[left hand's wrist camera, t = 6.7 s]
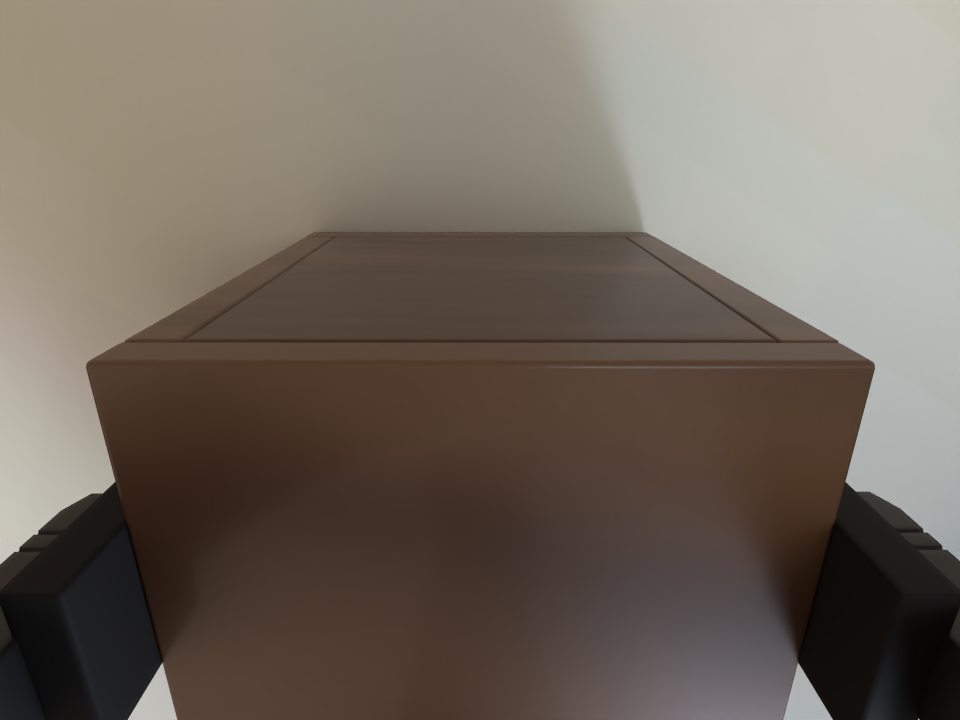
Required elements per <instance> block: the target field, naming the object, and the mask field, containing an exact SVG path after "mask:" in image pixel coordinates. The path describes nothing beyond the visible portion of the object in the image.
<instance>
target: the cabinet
mask: <svg viewBox="0 0 960 720" xmlns="http://www.w3.org/2000/svg"><path fill="white" fill-rule="evenodd" d="M86 369H87V373H88V377H89V381H90V384H91V388H92V392H93V396H94V400H95V404H96V408H97V411H98V415H99V419H100V423H101V427H102V431H103V435H104V438H105V442H106V446H107V450H108V454H109V458H110V462H111V465H112V469H113V473H114V477H115V481H116V485H117V488H118V492H119V496H120V500H121V504H122V508H123V512H124V515H125V519H126V523H127V527H128V531H129V535H130V539H131V542H132V546H133V550H134V554H135V558H136V562H137V566H138V569H139V573H140V577H141V581H142V585H143V589H144V593H145V596H146V600H147V604H148V608H149V612H150V616H151V620H152V623H153V627H154V631H155V635H156V639H157V643H158V646H159V650H160V654H161V658H162V662H163V666H164V670H165V673H166V677H167V681H168V685H169V689H170V693H171V697H172V700H173V704H174V708H175V712H176V716H177V720H783V718H784V714H785V710H786V706H787V703H788V699H789V695H790V691H791V687H792V683H793V680H794V676H795V672H796V668H797V664H798V660H799V657H800V653H801V649H802V645H803V641H804V638H805V634H806V630H807V626H808V622H809V618H810V615H811V611H812V607H813V603H814V599H815V595H816V592H817V588H818V584H819V580H820V576H821V573H822V569H823V565H824V561H825V557H826V553H827V550H828V546H829V542H830V538H831V534H832V530H833V527H834V523H835V519H836V515H837V511H838V507H839V504H840V500H841V496H842V492H843V488H844V485H845V481H846V477H847V473H848V469H849V465H850V462H851V458H852V454H853V450H854V446H855V442H856V439H857V435H858V431H859V427H860V423H861V419H862V416H863V412H864V408H865V404H866V400H867V397H868V393H869V389H870V385H871V381H872V377H873V374H874V370H875V365H874V363H873V362H872V361H871V360H869V359H867V358H865V357H863V356H862V355H860V354H858V353H856V352H855V351H853V350H851V349H849V348H848V347H846V346H844V345H842V344H840V343H839V342H838V340H836V339H834V338H832V337H830V336H829V335H827V334H825V333H823V332H822V331H820V330H818V329H816V328H815V327H813V326H811V325H809V324H808V323H806V322H804V321H802V320H800V319H799V318H797V317H795V316H793V315H792V314H790V313H788V312H786V311H785V310H783V309H781V308H779V307H777V306H776V305H774V304H772V303H770V302H769V301H767V300H765V299H763V298H762V297H760V296H758V295H756V294H754V293H753V292H751V291H749V290H747V289H746V288H744V287H742V286H740V285H739V284H737V283H735V282H733V281H731V280H730V279H728V278H726V277H724V276H723V275H721V274H719V273H717V272H716V271H714V270H712V269H710V268H709V267H707V266H705V265H703V264H701V263H700V262H698V261H696V260H694V259H693V258H691V257H689V256H687V255H686V254H684V253H682V252H680V251H678V250H677V249H675V248H673V247H671V246H670V245H668V244H666V243H664V242H663V241H661V240H659V239H657V238H655V237H653V236H651V235H649V234H648V233H342V232H315V233H313V234H311V235H309V236H307V237H306V238H304V239H302V240H301V241H299V242H297V243H295V244H294V245H292V246H290V247H288V248H287V249H285V250H283V251H281V252H279V253H278V254H276V255H274V256H272V257H271V258H269V259H267V260H265V261H264V262H262V263H260V264H258V265H257V266H255V267H253V268H251V269H250V270H248V271H246V272H244V273H243V274H241V275H239V276H237V277H236V278H234V279H232V280H230V281H229V282H227V283H225V284H223V285H222V286H220V287H218V288H216V289H215V290H213V291H211V292H209V293H207V294H206V295H204V296H202V297H200V298H199V299H197V300H195V301H193V302H192V303H190V304H188V305H186V306H185V307H183V308H181V309H179V310H178V311H176V312H174V313H172V314H171V315H169V316H167V317H165V318H164V319H162V320H160V321H158V322H157V323H155V324H153V325H151V326H150V327H148V328H146V329H144V330H143V331H141V332H139V333H137V334H135V335H134V336H132V337H130V338H128V339H127V340H125V342H124V343H120V344H118V345H116V346H114V347H113V348H111V349H109V350H107V351H106V352H104V353H102V354H100V355H99V356H97V357H95V358H93V359H92V360H90V361H88V362H87V365H86Z"/></svg>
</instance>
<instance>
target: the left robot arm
mask: <svg viewBox="0 0 960 720" xmlns="http://www.w3.org/2000/svg"><path fill="white" fill-rule="evenodd" d="M38 532H39V533H38V535H33V536H32V537H31V538H30V539H29V540H28V541H26V542H25V543H24V544H23V545H22V546H21V547H20V548H19V552H14V553H13V554H12V555H11V556H9V557H8V558H7V559H6V560H5V561H4V562H3V563H2V564H0V720H128V718H129V716H130V715H131V713H132V711H133V710H134V708H135V706H136V705H137V703H138V702H139V700H140V698H141V697H142V695H143V693H144V692H145V690H146V688H147V687H148V685H149V683H150V682H151V680H152V679H153V677H154V675H155V674H156V672H157V670H158V669H159V667H160V665H161V664H162V658H161V654H160V650H159V646H158V643H157V639H156V635H155V631H154V627H153V623H152V620H151V616H150V612H149V608H148V604H147V600H146V596H145V593H144V589H143V585H142V581H141V577H140V573H139V569H138V566H137V562H136V558H135V554H134V550H133V546H132V542H131V539H130V535H129V531H128V527H127V523H126V519H125V515H124V512H123V508H122V504H121V500H120V496H119V492H118V488H117V485H116V482H115V483H114V484H113V485H112V486H111V487H109V488H108V489H107V490H106V491H105V492H104V493H103V494H90V495H88V496H87V497H85V498H83V499H81V500H80V501H78V502H76V503H74V504H72V505H71V506H69V507H67V508H65V509H63V510H62V511H60V512H59V513H58V514H57V515H56V516H55V517H53V518H52V519H51V520H50V521H49V522H48V523H47V524H46V525H44V526H43V527H42V528H41V529H40V530H39V531H38ZM798 663H799V664H800V666H801V668H802V669H803V671H804V673H805V674H806V676H807V678H808V679H809V681H810V682H811V684H812V686H813V687H814V689H815V691H816V692H817V694H818V696H819V697H820V699H821V701H822V702H823V704H824V705H825V707H826V709H827V710H828V712H829V714H830V715H831V717H832V719H833V720H918V718H919V719H920V720H960V561H959V560H958V559H957V558H956V557H954V556H953V555H952V554H951V553H950V552H949V551H948V550H943V549H942V545H941V544H940V543H939V542H937V541H936V540H935V539H934V538H933V537H932V536H931V535H929V534H928V533H924V532H923V528H922V527H920V526H919V525H918V524H917V523H916V522H915V521H914V520H912V519H911V518H910V517H909V516H908V515H907V514H906V513H904V512H903V511H902V510H901V509H900V508H898V507H896V506H894V505H892V504H891V503H889V502H887V501H885V500H883V499H882V498H880V497H878V496H876V495H874V494H873V493H871V492H855V491H854V490H853V489H852V488H851V487H850V486H849V485H848V484H847V483H846V482H845V485H844V488H843V492H842V496H841V500H840V504H839V507H838V511H837V515H836V519H835V523H834V527H833V530H832V534H831V538H830V542H829V546H828V550H827V553H826V557H825V561H824V565H823V569H822V573H821V576H820V580H819V584H818V588H817V592H816V595H815V599H814V603H813V607H812V611H811V615H810V618H809V622H808V626H807V630H806V634H805V638H804V641H803V645H802V649H801V653H800V657H799V660H798Z"/></svg>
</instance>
